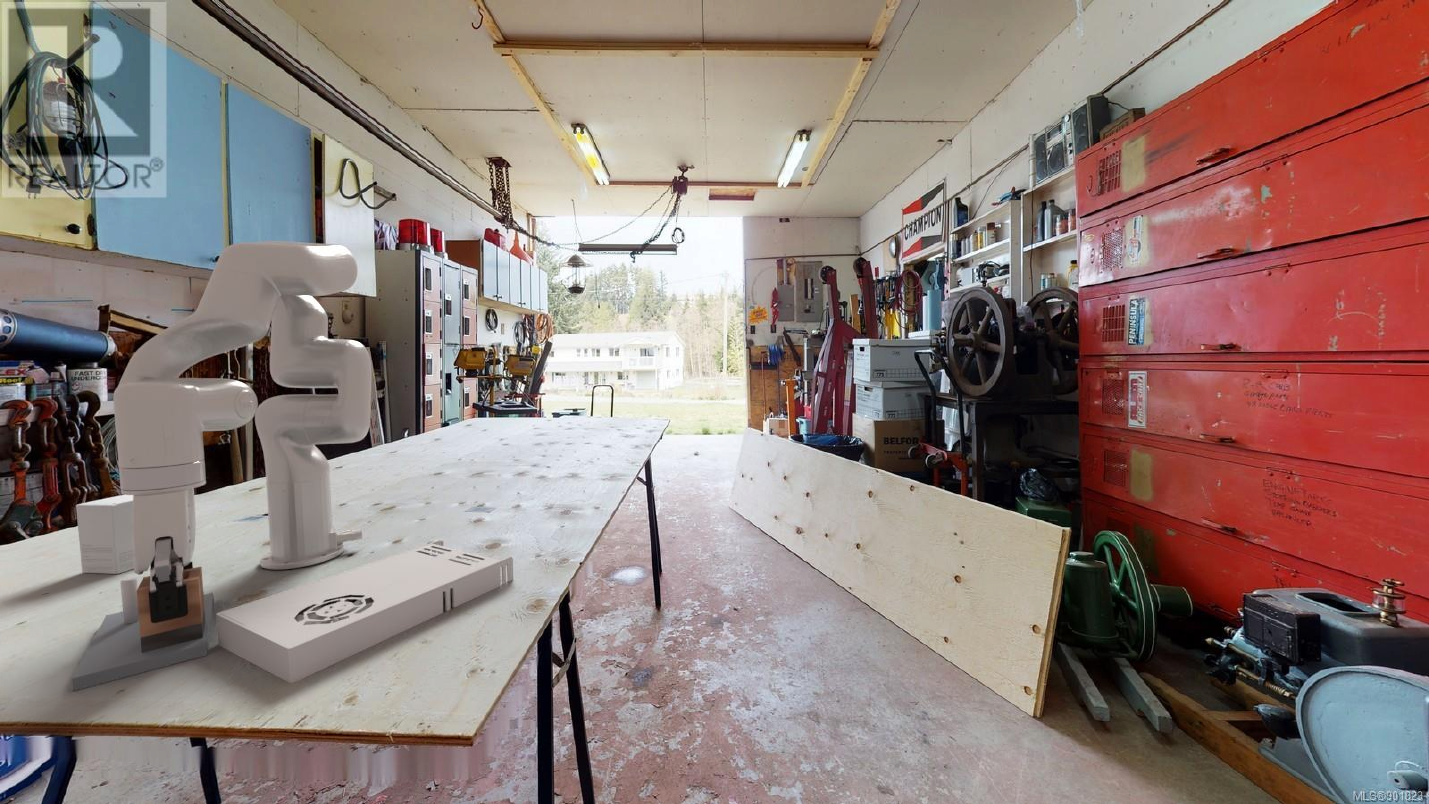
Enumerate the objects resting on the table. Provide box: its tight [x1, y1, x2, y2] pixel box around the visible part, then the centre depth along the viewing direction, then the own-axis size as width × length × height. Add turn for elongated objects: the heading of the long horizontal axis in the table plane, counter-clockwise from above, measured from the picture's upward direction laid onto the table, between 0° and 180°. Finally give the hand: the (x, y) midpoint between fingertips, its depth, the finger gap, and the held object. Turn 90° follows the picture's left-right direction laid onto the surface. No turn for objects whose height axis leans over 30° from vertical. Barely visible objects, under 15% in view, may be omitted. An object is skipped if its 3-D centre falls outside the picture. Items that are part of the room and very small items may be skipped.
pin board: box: [71, 576, 215, 692], centre depth 70 cm, size 11×20×8 cm, turn 42°
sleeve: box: [137, 566, 205, 653], centre depth 68 cm, size 5×5×8 cm
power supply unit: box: [215, 539, 514, 684], centre depth 79 cm, size 19×33×5 cm, turn 153°
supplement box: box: [75, 494, 134, 575], centre depth 95 cm, size 7×7×13 cm
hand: (174, 605), depth 68 cm, fingers open, 9 cm apart
